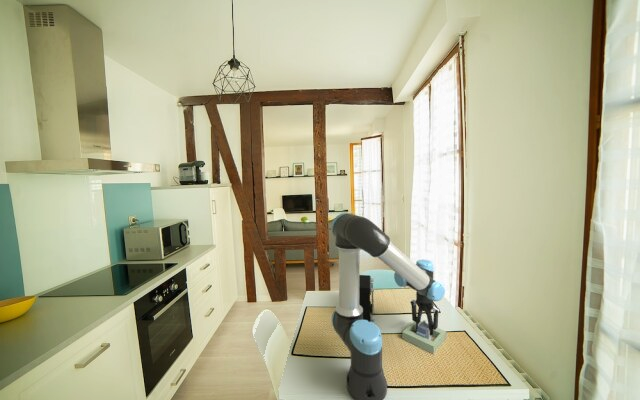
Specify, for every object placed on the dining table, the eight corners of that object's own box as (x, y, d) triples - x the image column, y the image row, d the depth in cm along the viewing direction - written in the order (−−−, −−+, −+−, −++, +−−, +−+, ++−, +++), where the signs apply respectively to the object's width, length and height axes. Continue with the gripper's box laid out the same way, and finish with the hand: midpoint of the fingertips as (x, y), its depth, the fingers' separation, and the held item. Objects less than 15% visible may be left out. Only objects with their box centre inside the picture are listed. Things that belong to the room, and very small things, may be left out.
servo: (424, 345, 114) (424, 329, 114) (416, 341, 117) (416, 326, 117) (433, 335, 121) (433, 320, 121) (425, 331, 124) (425, 317, 124)
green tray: (433, 354, 108) (433, 346, 108) (402, 338, 119) (402, 331, 119) (446, 338, 119) (446, 331, 118) (416, 325, 130) (416, 319, 129)
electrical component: (374, 324, 132) (374, 288, 130) (355, 322, 134) (354, 287, 132) (373, 307, 149) (373, 275, 147) (357, 305, 151) (356, 274, 149)
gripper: (446, 295, 113) (445, 342, 115) (411, 284, 126) (411, 327, 128) (440, 301, 108) (439, 350, 110) (404, 289, 121) (404, 333, 123)
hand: (424, 338), depth 119 cm, fingers closed on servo, 4 cm apart
